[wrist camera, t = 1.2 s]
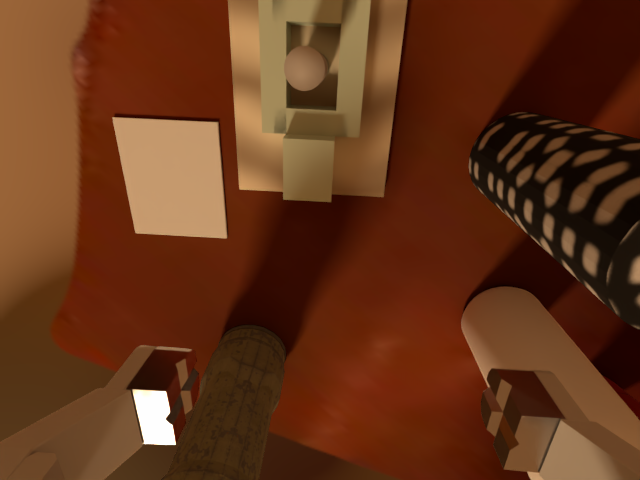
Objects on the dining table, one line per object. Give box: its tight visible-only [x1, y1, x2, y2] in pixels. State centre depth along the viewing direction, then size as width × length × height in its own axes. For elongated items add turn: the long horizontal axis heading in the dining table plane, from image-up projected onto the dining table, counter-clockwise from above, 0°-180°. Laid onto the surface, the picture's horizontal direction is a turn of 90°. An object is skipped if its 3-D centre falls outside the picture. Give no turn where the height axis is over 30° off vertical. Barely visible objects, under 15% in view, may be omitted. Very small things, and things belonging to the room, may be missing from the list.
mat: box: [112, 117, 228, 238], centre depth 37 cm, size 12×10×1 cm
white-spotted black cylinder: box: [469, 112, 640, 329], centre depth 25 cm, size 8×8×20 cm
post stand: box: [228, 0, 407, 197], centre depth 27 cm, size 18×14×12 cm
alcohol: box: [461, 286, 640, 480], centre depth 29 cm, size 9×9×30 cm
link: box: [258, 0, 371, 202], centre depth 29 cm, size 15×8×5 cm, turn 178°
